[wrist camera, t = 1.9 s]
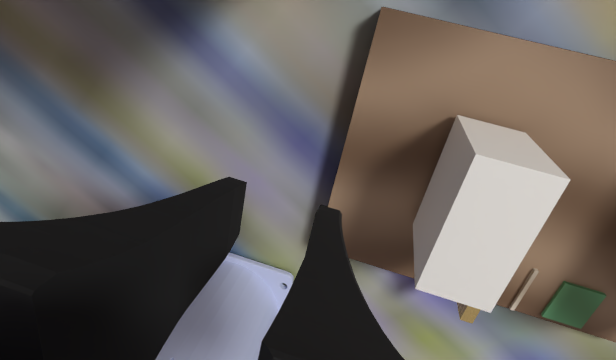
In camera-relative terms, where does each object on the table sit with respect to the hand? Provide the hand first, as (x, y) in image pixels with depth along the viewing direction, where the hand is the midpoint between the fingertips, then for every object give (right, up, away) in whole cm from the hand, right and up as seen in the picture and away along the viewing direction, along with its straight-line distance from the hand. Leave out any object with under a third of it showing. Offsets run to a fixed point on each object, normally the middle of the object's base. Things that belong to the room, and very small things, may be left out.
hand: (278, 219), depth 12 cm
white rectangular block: (+8, 0, +6) cm, 10 cm away
